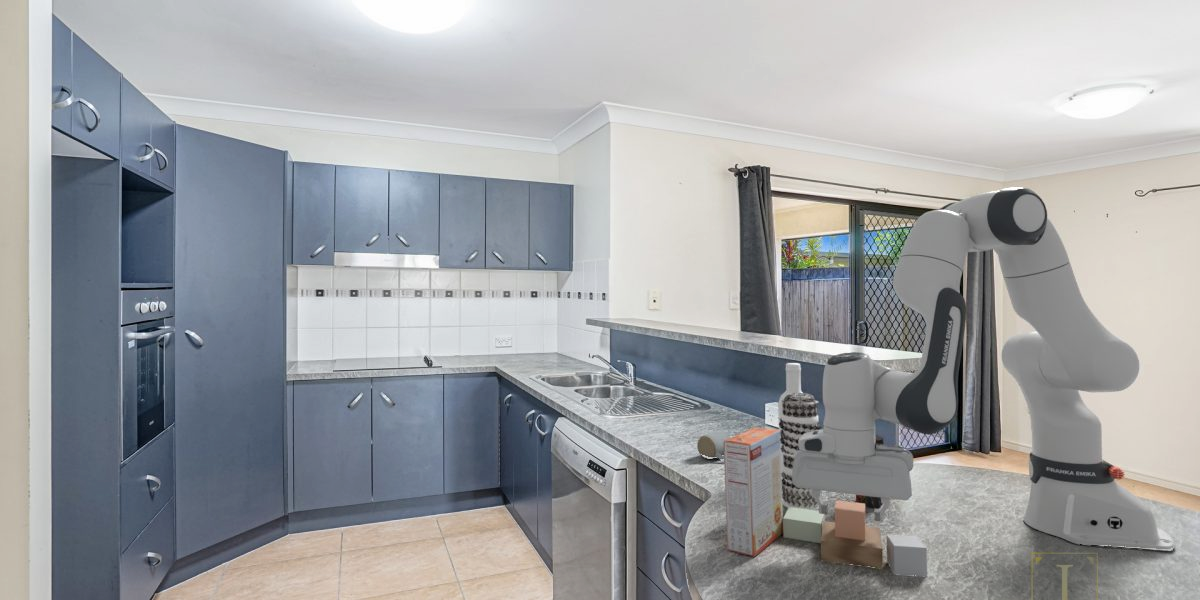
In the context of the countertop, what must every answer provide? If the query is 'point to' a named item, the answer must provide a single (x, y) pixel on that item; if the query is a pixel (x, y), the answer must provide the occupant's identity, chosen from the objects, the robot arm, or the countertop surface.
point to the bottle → (790, 391)
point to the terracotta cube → (850, 520)
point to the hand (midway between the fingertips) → (850, 516)
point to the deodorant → (869, 500)
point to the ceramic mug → (713, 444)
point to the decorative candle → (796, 445)
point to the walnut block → (852, 547)
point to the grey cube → (906, 555)
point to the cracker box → (753, 490)
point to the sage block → (803, 524)
